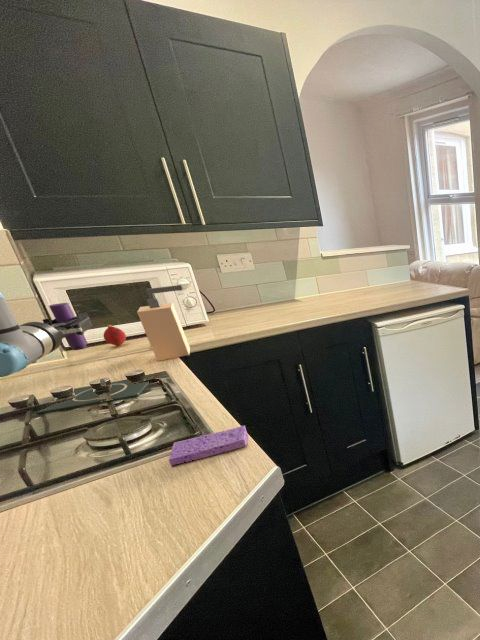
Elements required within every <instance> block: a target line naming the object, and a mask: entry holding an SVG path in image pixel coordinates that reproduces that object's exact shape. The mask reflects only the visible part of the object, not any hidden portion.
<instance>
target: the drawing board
mask: <svg viewBox="0 0 480 640" xmlns="http://www.w3.org/2000/svg"><path fill="white" fill-rule="evenodd" d="M149 376H151V377H153V376H155V375H147V376H146V377H149ZM127 380H128V379H124V380H118V381H113V382H112V381H111V382H110V383H112V387H111V391H110V395H111V398H112V399H113V400H115V401H121V400H127V399H133V398H138V397H139V396H140V395H141V394H142V393H143V392H144V391H145V389H146V388H147V387H148V386H149V385H150V384H151V382H150V383H149V381H148V382H142V383H136V384H129V383H128V381H127ZM92 386H93V385H88V386H82V387H76V388H73V389H74V393H75V395H77V396H76V397H75V398H73V399H71V400H67V401H64V402H60V403H56V404H54V405H51V406H49V407H47V408H45V409H42V408H41V409H42V410H40V409H39V410H40V411H39V410H37V411H36V415H37V414H38V415H43V414H49V413H56V412H60V411H65V410H72V409H77V408H82V407H88V406H93V405H99V404H101V403H100V402H101V401H99V400H98V399H99V395H98V394H96V393H94V392H93V388H92ZM51 401H54V398H53V399H52V400H51ZM115 401H114V402H115Z"/></svg>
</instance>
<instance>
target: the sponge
mask: <svg viewBox="0 0 480 640" xmlns="http://www.w3.org/2000/svg"><path fill="white" fill-rule="evenodd" d="M246 433H247V435H246ZM247 443H248V431H247V428H246V425H240V426H237V427H233V428H230V429H227V430H223V431H217V432H213V433H209V434H204V435H199V436H196V437H192V438H188V439H183V440H179V441H174V442H173V444H172V447H171V452H170V455H169V458H168V462H169V464H170V466H171V465H175V464H179V463H182V464H185V463H184V462H187V463H189V462H188V461H190V462H193V461H192V460H194V461H197V460H200V459H204V458H205V459H206V458H209V457H211V456H216V455H220V454H222V453H227V452H230V451H233V450H236V449H240V448H244V447H246V446H247ZM179 465H180V464H179ZM175 466H176V465H175Z"/></svg>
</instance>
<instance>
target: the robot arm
mask: <svg viewBox="0 0 480 640" xmlns="http://www.w3.org/2000/svg"><path fill="white" fill-rule="evenodd" d="M93 327H94V326H93V323H92V320H91V318H90V316H89V314H88V312H82V313H80V314H78V315H76V316H75V317H74V318H73V320H70V321H67V322H65V323H57V321H56V319H55V318H53V319H52V320H51V319H49V318H43V319H42V321H41V322H40V321H28V322H25V323H23V324H20V325H19V323H18V322H17V320H16V318H15V316H14V314H13V312H12V310H11V307H10V306H9V304H8V302H7V301H6V297H5V296H4V295H3V293H2V292H1V291H0V378H5V377H8V376H10V375H13V374H15V373H18V372H21V371H23V370H24V369H26V368H27V367H28V366H30V365H31V364H36V363H37V362H38V360H40V359H42V358H44V357H45V356H47V355H49V354H51V353H53V352H54V351H56V350H58V348H59V347H60V346H61V344H62V342H63V341H62V340H63V339H65V337H67V336H69V333H74V334H75V335H76V334H78V335H83V334H84V335H85V332H87V331H88V330H90V329H91V328H93Z"/></svg>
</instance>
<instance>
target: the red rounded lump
mask: <svg viewBox="0 0 480 640" xmlns="http://www.w3.org/2000/svg"><path fill="white" fill-rule="evenodd" d="M106 327H107V328H106V329H105V330H104V332H103V340H104V341H105V342H107V344H110V345H113V346H116V347H121V346H122V345H123V344H124V343H125V341H126V340H127V335H126V333H125V332H124V330H122V329H120V328H119V327H116V326H113V325H111V324H107V326H106ZM120 345H121V346H120Z"/></svg>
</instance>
